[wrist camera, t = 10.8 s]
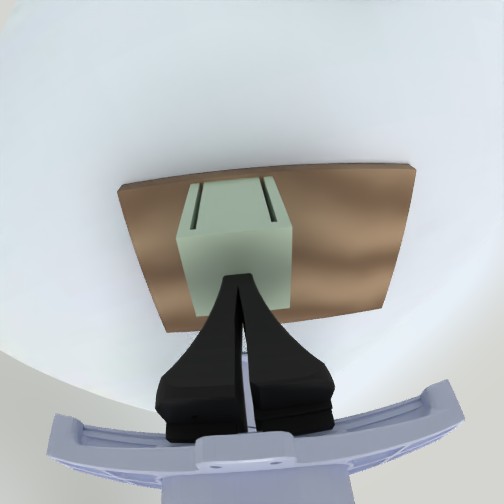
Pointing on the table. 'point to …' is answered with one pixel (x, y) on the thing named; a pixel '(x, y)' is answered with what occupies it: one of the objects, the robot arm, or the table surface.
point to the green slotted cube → (235, 240)
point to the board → (303, 236)
